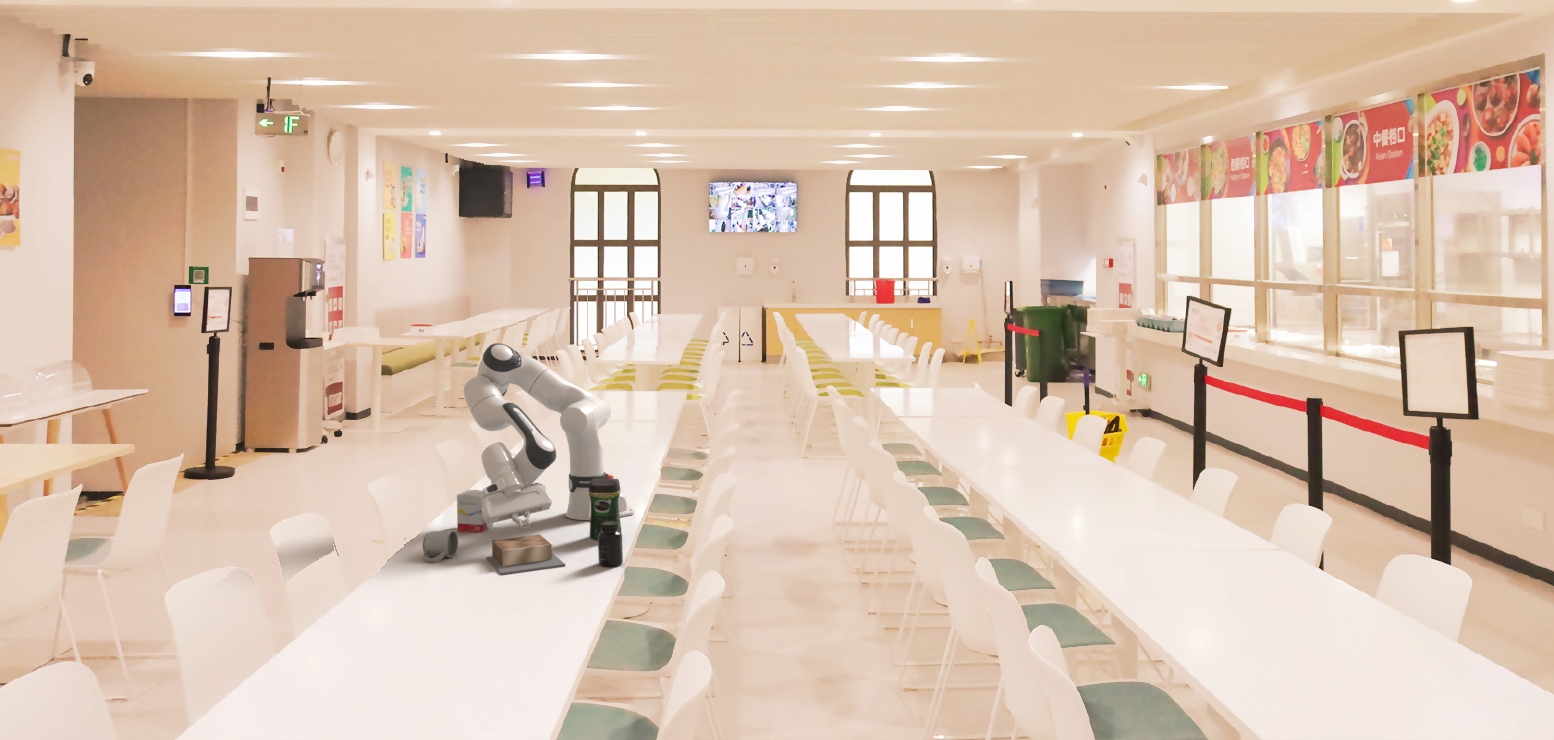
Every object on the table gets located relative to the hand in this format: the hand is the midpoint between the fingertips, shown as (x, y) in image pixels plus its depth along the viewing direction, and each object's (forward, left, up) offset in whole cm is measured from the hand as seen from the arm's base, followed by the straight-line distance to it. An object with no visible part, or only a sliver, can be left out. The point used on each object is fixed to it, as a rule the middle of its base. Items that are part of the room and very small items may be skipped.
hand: (525, 526), depth 316 cm
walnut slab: (+3, -1, -5) cm, 6 cm away
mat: (+3, +9, -8) cm, 12 cm away
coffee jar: (-26, -6, -8) cm, 28 cm away
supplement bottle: (-18, +21, -8) cm, 29 cm away
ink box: (+7, -35, -8) cm, 36 cm away
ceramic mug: (+23, -8, -9) cm, 26 cm away
